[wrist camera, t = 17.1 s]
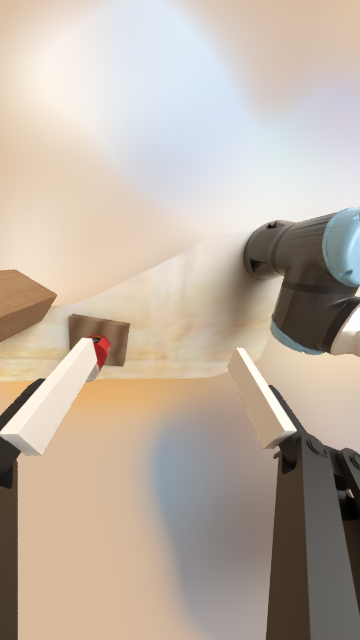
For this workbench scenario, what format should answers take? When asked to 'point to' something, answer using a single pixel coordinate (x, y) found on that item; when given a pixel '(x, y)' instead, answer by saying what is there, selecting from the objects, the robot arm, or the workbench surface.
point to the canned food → (99, 354)
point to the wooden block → (21, 302)
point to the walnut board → (103, 327)
